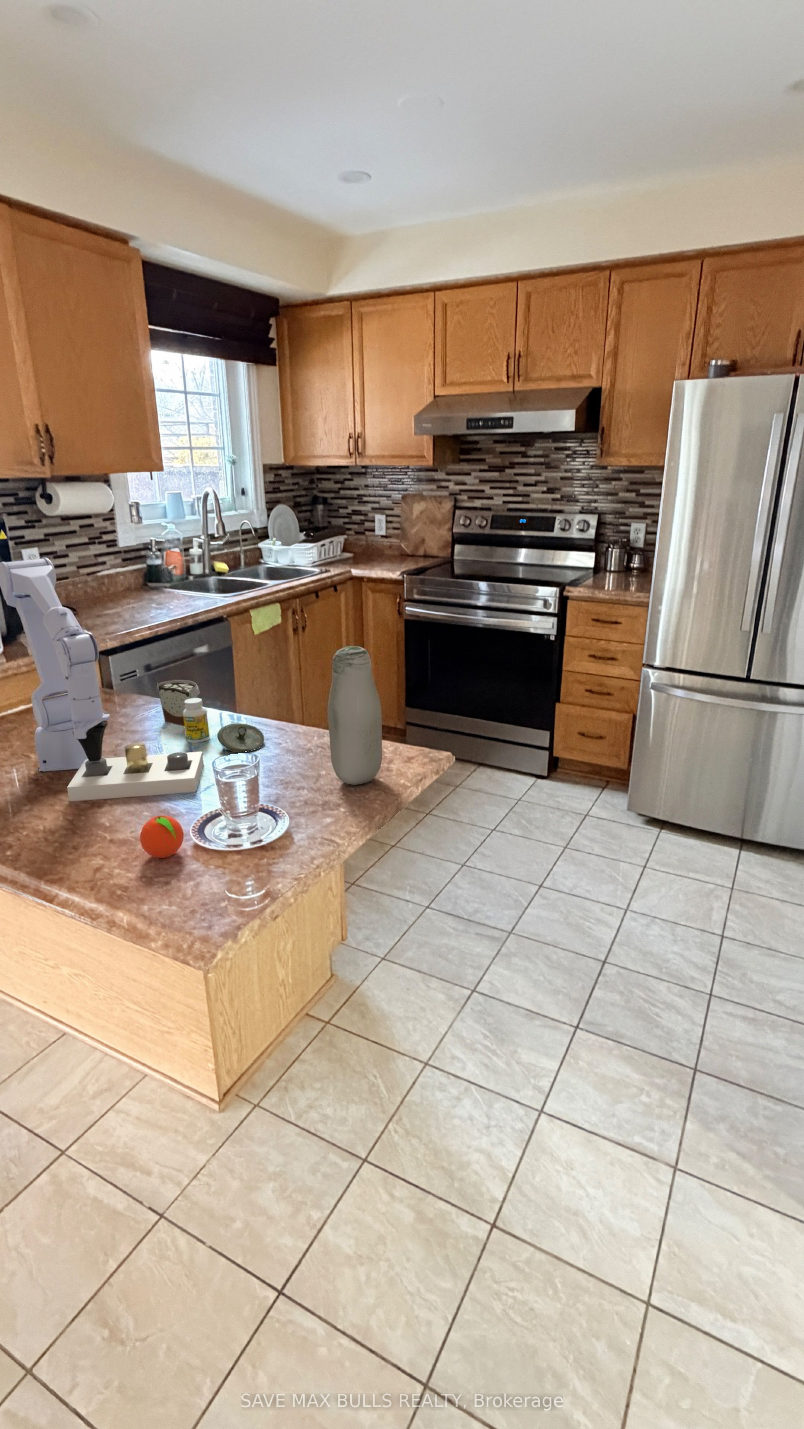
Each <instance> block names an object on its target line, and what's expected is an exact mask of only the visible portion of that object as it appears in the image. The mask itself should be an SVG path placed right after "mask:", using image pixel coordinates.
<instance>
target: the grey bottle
mask: <svg viewBox="0 0 804 1429" xmlns="http://www.w3.org/2000/svg"><path fill="white" fill-rule="evenodd" d="M331 667H332V668H331V670H332V673H331V674H332V675H331V685H330V690H329V696H328V702H327V724H328V735H329V749H330V750H329V751H330V760H331V764H332V769H333V771H334V774H335V775H336V777H337V778H338V780H340V781H341V782H342V783H345V784H348V785H350V784H351V785H350V786H358V784H359V785H363V783H364V784H367V783H369V782H370V781H372V780H373V779H375V777H376V776H377V775H378V773H379V772H380V768H381V766H382V762H383V729H382V728H383V727H382V726H383V721H382V705H381V700H380V695H379V693H378V690H377V687H376V684H375V679H374V676H373V670H372V660H371V657H370V654H369V652H368V651H367V649H365V648H363V647H361V646H358V645H357V646H355V645H349V646H348V645H347V646H344V647H341V648H339V649H338V650H336V652H335V653H334V655H333V657H332V663H331Z"/></svg>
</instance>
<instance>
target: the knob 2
mask: <svg viewBox="0 0 804 1429" xmlns="http://www.w3.org/2000/svg"><path fill="white" fill-rule="evenodd" d="M186 753H187V752H182V751H179V752H173V753H169V754H170V755H168V756H167V761H168V768H169V771H176V770H189V764H188V756H187V754H186Z"/></svg>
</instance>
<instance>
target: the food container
mask: <svg viewBox="0 0 804 1429" xmlns="http://www.w3.org/2000/svg"><path fill="white" fill-rule="evenodd" d="M156 692H158V696H159V700H160V705H161V709H162V710H161V711H162V714H163V719H164V723H166V724H172V725H175V726H179V727H183V728H185V726H184V719H183V711H184V710H185V709H186V707H185V704H184V701H185V700H187V699H191V698H198V696H199V695H200V689H199V686H198V685H197V683H196V682H194V681H192V680H186V679H185V680H184V679H173V680H167V681H161V682H157V685H156Z"/></svg>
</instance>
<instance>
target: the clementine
mask: <svg viewBox="0 0 804 1429" xmlns="http://www.w3.org/2000/svg"><path fill="white" fill-rule="evenodd" d="M184 833H185V832H184V831H183V827H182V825H181V824H180V822H179V821H178V820H176V819H175V818H174V817H172V816H168V815H161V814H160V815H156V816H153V817H151V818H150V819H149V820H147V821H146V822H145V823H144V825H143V827H142V828H141V831H140V834H139V841H140V844H141V847H142V849H143V850H144V852H146V854H148V855H149V856H151V857H154V858H158V859H164V858H169V857H171V856H172V855H174V854H176V853H177V852H178V851H179V849H180V848H181V847H182V845H183V842H184Z"/></svg>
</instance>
